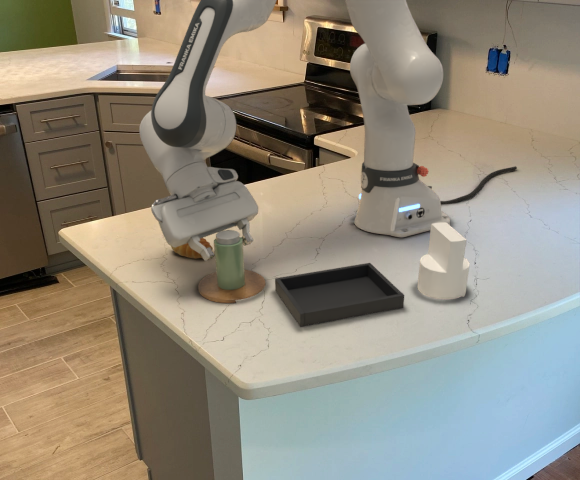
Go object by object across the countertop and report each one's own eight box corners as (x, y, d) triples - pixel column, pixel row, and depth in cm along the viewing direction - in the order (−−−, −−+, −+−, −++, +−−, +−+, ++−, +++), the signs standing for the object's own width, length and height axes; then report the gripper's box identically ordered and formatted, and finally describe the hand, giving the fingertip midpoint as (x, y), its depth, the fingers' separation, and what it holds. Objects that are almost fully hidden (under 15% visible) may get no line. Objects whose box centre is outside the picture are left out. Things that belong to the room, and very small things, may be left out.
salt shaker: (248, 278, 123) (245, 229, 118) (241, 291, 118) (237, 240, 113) (222, 276, 124) (218, 228, 119) (213, 288, 119) (209, 239, 114)
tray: (369, 276, 124) (370, 262, 123) (403, 310, 113) (404, 295, 111) (275, 292, 119) (274, 278, 118) (300, 329, 107) (300, 314, 106)
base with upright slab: (473, 299, 116) (483, 238, 109) (428, 304, 114) (435, 243, 108) (453, 278, 123) (460, 220, 117) (410, 283, 122) (415, 224, 115)
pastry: (220, 252, 136) (219, 236, 134) (198, 263, 131) (196, 247, 129) (190, 242, 141) (188, 226, 139) (168, 253, 136) (165, 236, 134)
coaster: (255, 268, 129) (255, 265, 128) (273, 296, 118) (273, 292, 118) (192, 278, 125) (192, 274, 125) (206, 308, 115) (205, 304, 114)
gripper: (152, 193, 110) (190, 260, 109) (241, 167, 122) (276, 228, 121) (142, 211, 115) (178, 275, 114) (228, 185, 127) (262, 243, 126)
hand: (229, 250), depth 118 cm, fingers open, 8 cm apart
